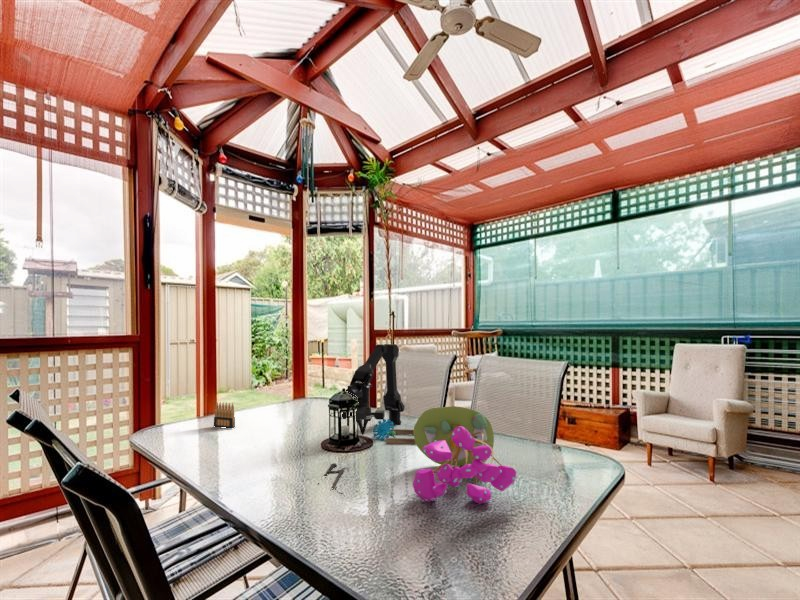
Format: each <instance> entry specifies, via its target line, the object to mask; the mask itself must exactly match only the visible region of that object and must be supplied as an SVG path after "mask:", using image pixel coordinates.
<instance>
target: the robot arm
mask: <svg viewBox="0 0 800 600" xmlns="http://www.w3.org/2000/svg"><path fill="white" fill-rule="evenodd" d="M399 352H400V348H399V346H398V345H397V344H395V343H392V344H391V343H390V344H389V343H384V344H376V345H375V346H374V349H373V350H372V352H371V353H370V355H369V356H368V358H367V359H366V361H365V362H364V363H363V365H360V366H358V367H357V369H356V370H355V371H354V373H353V376H352V379H351V380H350V382H349V385H347V388H346V389H345V390H346V391H348V393H349V392H350V393H349V394H351V393H352V394H351V395H352V397H353V396H354V397H356V396H357V397H358V402H359V405H358V408H357V411H356V421H355V422H356V423H357V425H358V428H359V430H360V434H361V435H363V436H364V435H365V432H366V428H367V425H368V423H369V422H371V421H372V418H374V419H375V420H378V421H381V420H382V421H383V419H385V411H388V419H389V420H390V421H391V422H393V425H398V426H399V425H402V420H401V413H402V412H404V411H405V408H406V407H405V404H404V403H403V401H402V398H401V394H400V392H399V391H398V386H397V382H398V381H397V367H396V365H397V364H396V362H397V359H398V358H399ZM381 359H383V361H384V362H385V376H386V378H385V379H386V392H385V394H384V395H383V396H382V397H383V406H384V407H383V408H384V409H380V410H379V409H376V410H374V412H373V411H372V407H371V406H370V388H372V387H373V385H372V384H371V382H372V380H373V378H374V374H375V373H374V371H375V369H376V367H377V366H378V364H379V362H380V360H381ZM353 394H354V395H353ZM355 395H356V396H355ZM357 397H356V398H357ZM354 399H355V398H354ZM384 410H385V411H384ZM352 412H353V411H352ZM352 412H350V416H349V417H352ZM342 417H343V419H342V420H347V419H346V412H343V414H342ZM389 423H390V422H389ZM389 423H387V424H389Z"/></svg>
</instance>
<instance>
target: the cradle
mask: <svg viewBox="0 0 800 600" xmlns="http://www.w3.org/2000/svg"><path fill="white" fill-rule="evenodd" d="M390 431H395V433H396V434H395V435H399V434H413V435H412V436H414V433H413V431H414V429H406V428H405V429H403V428H402V429H401V428H400V429H397V428H396V429H395V428H394V430H392V428H390ZM386 444H390V445H392V444H394V445H416V443H415V439H414V437H413V438H407V437H406V438H405V437H401V438H400V437H399V438H398V437H396V438H394V437H389V438H386Z"/></svg>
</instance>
